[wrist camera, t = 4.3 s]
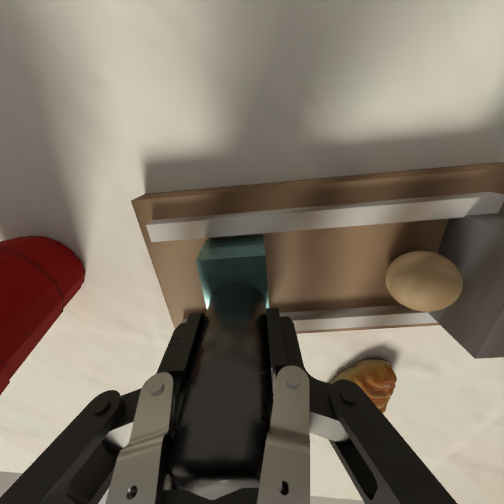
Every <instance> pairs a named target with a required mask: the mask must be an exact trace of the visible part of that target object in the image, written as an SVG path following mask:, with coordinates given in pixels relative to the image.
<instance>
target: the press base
mask: <svg viewBox="0 0 504 504" xmlns="http://www.w3.org/2000/svg"><path fill="white" fill-rule="evenodd" d="M131 202H132V205H133V208H134V211H135V214H136V217H137V220H138V223H139V225H140V228H141V231H142V234H143V237H144V240H145V243H146V246H147V249H148V252H149V255H150V258H151V260H152V263H153V266H154V269H155V272H156V275H157V278H158V281H159V284H160V287H161V290H162V293H163V295H164V298H165V301H166V304H167V307H168V310H169V313H170V316H171V319H172V322H173V325H174V328H175V329H176V328H177V327H178V326H179V324H180V323H186V321H187V319H188V316H189V314H190V313H199V312H203V313H204V315H205V316H206V312H207V307H206V302H205V298H204V294H203V290H202V285H201V281H200V277H199V273H198V269H197V264H196V259H197V257H198V255H199V253H200V250H201V248H202V246H203V244H204V242H205V240H206V239H217V238H230V237H242V236H255V235H263V236H264V245H265V253H266V267H267V282H268V297H269V308H279V314H280V317H285V316H289V318H290V319H291V320H292V321H293V323H294V326H295V330H296V334H298V333H314V332H331V331H348V330H365V329H381V328H398V327H415V326H431V325H441V326H442V327H443V328H444V329H445V330H446V331H447V332H448V333H449V334H450V335H451V336H452V337H453V338H454V339H455V340H456V341H457V342H458V343H459V344H460V345H462V346H463V347H464V348H465V349H466V350H467V351H468V352H469V353H470V354H471V355H472V356H473V357H474V358H475V359H476V358H495V357H504V163H501V162H499V163H488V164H477V165H466V166H455V167H443V168H432V169H421V170H410V171H399V172H388V173H376V174H365V175H354V176H343V177H332V178H321V179H309V180H298V181H287V182H276V183H265V184H254V185H242V186H231V187H220V188H209V189H198V190H187V191H175V192H164V193H153V194H144V195H142V196H140V197H138V198H136V199H134V200H132V201H131ZM413 251H429V252H434V253H437V254H439V255H442V256H444V257H445V258H447V259H449V260H450V261H451V262H452V263H453V264H454V265H455V266H456V267H457V269H458V270H459V272H460V274H461V277H462V282H463V285H462V291H461V293H460V295H459V297H458V298H457V300H456V301H455V302H454V303H452V304H451V305H450V306H448V307H446V308H444V309H441V310H437V311H431V312H424V311H417V310H413V309H410V308H408V307H406V306H404V305H402V304H400V303H399V302H398V301H396V300H395V299H394V298H393V296H392V295H391V294H390V292H389V290H388V288H387V285H386V272H387V270H388V267H389V266H390V264H391V263H392V262H393V261H394V260H395V259H396V258H398V257H399V256H401V255H403V254H405V253H408V252H413Z"/></svg>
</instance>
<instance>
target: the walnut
mask: <svg viewBox="0 0 504 504" xmlns="http://www.w3.org/2000/svg"><path fill="white" fill-rule="evenodd" d="M386 285H387V288H388V290H389V292H390V294H391V295H392V296H393V298H394V299H395V300H396V301H398V302H399V303H400V304H402V305H404V306H406V307H408V308H410V309H413V310H417V311H424V312H431V311H437V310H441V309H444V308H446V307H448V306H450V305H451V304H452V303H454V302H455V301H456V300H457V298H458V297H459V295H460V293H461V291H462V285H463V282H462V277H461V274H460V272H459V270H458V269H457V267H456V266H455V265H454V264H453V263H452V262H451V261H450V260H449V259H447V258H445V257H444V256H442V255H439V254H437V253H434V252H429V251H413V252H408V253H405V254H403V255H401V256H399V257H398V258H396V259H395V260H394V261H393V262H392V263H391V264H390V266H389V267H388V270H387V272H386Z"/></svg>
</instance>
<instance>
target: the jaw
mask: <svg viewBox="0 0 504 504" xmlns="http://www.w3.org/2000/svg"><path fill="white" fill-rule="evenodd" d="M196 264H197V269H198V273H199V277H200V281H201V285H202V290H203V294H204V298H205V302H206V307H207V312H206V316H205V320H204V323H203V327H202V331H201V334H200V338H199V342H198V345H197V349H196V353H195V356H194V360H193V364H192V367H191V371H190V375H189V378H188V382H187V386H186V390H185V393H184V397H183V401H182V404H181V408H180V412H179V415H178V419H177V423H176V426H175V430H174V434H173V437H172V442H171V446H170V451H169V456H168V462H167V467H166V469H167V470H168V472H169V474H170V475H171V477H172V479H173V480H174V482H175V483H176V485H177V487H178V488H179V490H186V491H189V492H192V493H194V494H197V495H199V496H202V497H204V498H207V499H210V500H214V499H217V498H219V497H222V496H224V495H226V494H229V493H231V492H234V491H236V490H239V489H241V488H257V487H259V485H260V478H261V471H262V464H263V457H264V450H265V444H266V437H267V433H268V430H269V428H270V423H271V416H272V408H273V401H274V399H273V387H272V378H271V366H270V353H269V341H268V328H267V316H266V308H269V297H268V282H267V267H266V253H265V245H264V236H263V235H255V236H242V237H230V238H217V239H206V240H205V242H204V244H203V246H202V248H201V250H200V253H199V255H198V257H197V259H196Z"/></svg>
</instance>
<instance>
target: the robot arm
mask: <svg viewBox="0 0 504 504" xmlns="http://www.w3.org/2000/svg"><path fill="white" fill-rule="evenodd" d="M266 316H267V328H268V341H269V353H270V366H271V378H272V387H273V397H274V401H273V408H272V416H271V423H270V428H269V430H268V433H267V437H266V444H265V450H264V457H263V464H262V471H261V478H260V485H259V487H257V488H241V489H239V490H236V491H234V492H231V493H229V494H226V495H224V496H222V497H219V498H217V499H214V500H210V499H207V498H204V497H202V496H199V495H197V494H194V493H192V492H189V491H186V490H179V488H178V487H177V485H176V483H175V482H174V480H173V479H172V477H171V475H170V474H169V472H168V470H167V469H166V467H167V462H168V456H169V451H170V446H171V442H172V437H173V434H174V430H175V426H176V423H177V419H178V415H179V412H180V408H181V404H182V401H183V397H184V393H185V390H186V386H187V382H188V378H189V375H190V371H191V367H192V364H193V360H194V356H195V353H196V349H197V345H198V342H199V338H200V334H201V331H202V327H203V323H204V320H205V315H204V313H203V312H199V313H190V314H189V316H188V319H187V321H186V323H180V324H179V326H178V327H177V328H176V329H175V330H174V332H173V335H172V337H171V340H170V342H169V344H168V347H167V349H166V352H165V354H164V356H163V359H162V361H161V364H160V366H159V368H158V371H157V373H156V374H155V375H153V376H152V377H150V378H149V379H148V380H147V381H146V382H145V383H144V385H143V387H142V388H141V389H138V390H136V391H133V392H130V393H128V394H125V395H122V396H121V395H120V394H119V392H117V391H115V390H109V391H106V392H103V393H101V394H100V395H98V396H97V397H95V398H94V399H93V400H92V401H91V402H90V403H89V404H88V405H87V406H86V407H85V408H84V409H83V411H82V412H81V413H80V414H79V415H78V416H77V417H76V418H75V419H74V420H73V421H72V422H71V423H70V424H69V425H68V426H67V427H66V429H65V430H64V431H63V432H62V433H61V434H60V435H59V436H58V437H57V438H56V439H55V440H54V441H53V442H52V443H51V444H50V446H49V447H48V448H47V449H46V450H45V451H44V452H43V453H42V454H41V455H40V456H39V457H38V458H37V459H36V460H35V461H34V462H33V464H32V465H31V466H30V467H29V468H28V469H27V470H26V471H25V472H24V473H23V474H22V475H21V476H20V477H19V479H17V481H16V482H15V483H14V484H13V485H12V486H11V487H10V488H9V489H8V490H7V491H6V492H5V493H4V494H3V495H2V497H1V498H0V504H98V503H99V501H100V500H101V498H102V497H103V495H104V494H105V492H106V491H107V489H108V488H109V486H110V488H109V492H108V496H107V500H106V504H310V439H309V432H310V433H313V434H316V435H319V436H321V437H324V438H327V439H329V441H330V443H331V445H332V446H333V448H334V450H335V452H336V453H337V455H338V457H339V459H340V460H341V462H342V464H343V466H344V467H345V469H346V471H347V473H348V474H349V476H350V478H351V480H352V481H353V483H354V485H355V487H356V489H357V490H358V492H359V494H360V496H361V497H362V499H363V501H364V502H365V504H457V503H456V502H455V500H454V499H453V498H452V497H451V496H450V494H449V493H448V492H447V491H446V490H445V488H444V487H443V486H442V485H441V483H440V482H439V481H438V480H437V479H436V477H435V476H434V475H433V474H432V473H431V471H430V470H429V469H428V468H427V467H426V465H425V464H424V463H423V462H422V461H421V459H420V458H419V457H418V456H417V455H416V453H415V452H414V451H413V450H412V449H411V447H410V446H409V445H408V444H407V443H406V441H405V440H404V439H403V438H402V437H401V435H400V434H399V433H398V432H397V431H396V429H395V428H394V427H393V426H392V425H391V423H390V422H389V421H388V420H387V418H386V417H385V416H384V415H383V414H382V412H381V411H380V410H379V409H378V408H377V406H376V405H375V404H374V403H373V402H372V400H371V399H370V398H369V397H368V396H367V394H366V393H365V392H364V391H363V390H362V389H361V387H360V386H358V385H357V384H356V383H354V382H352V381H350V380H345V379H340V380H337V381H335V382H334V383H333V384H329V383H326V382H322V381H319V380H317V379H315V378H313V377H312V376H310V375H309V374H308V372H307V371H306V370H305V368H304V365H303V361H302V357H301V352H300V348H299V343H298V339H297V335H296V330H295V326H294V323H293V321H292V320H291V319H290V318H289V316H285V317H280V314H279V308H266Z"/></svg>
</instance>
